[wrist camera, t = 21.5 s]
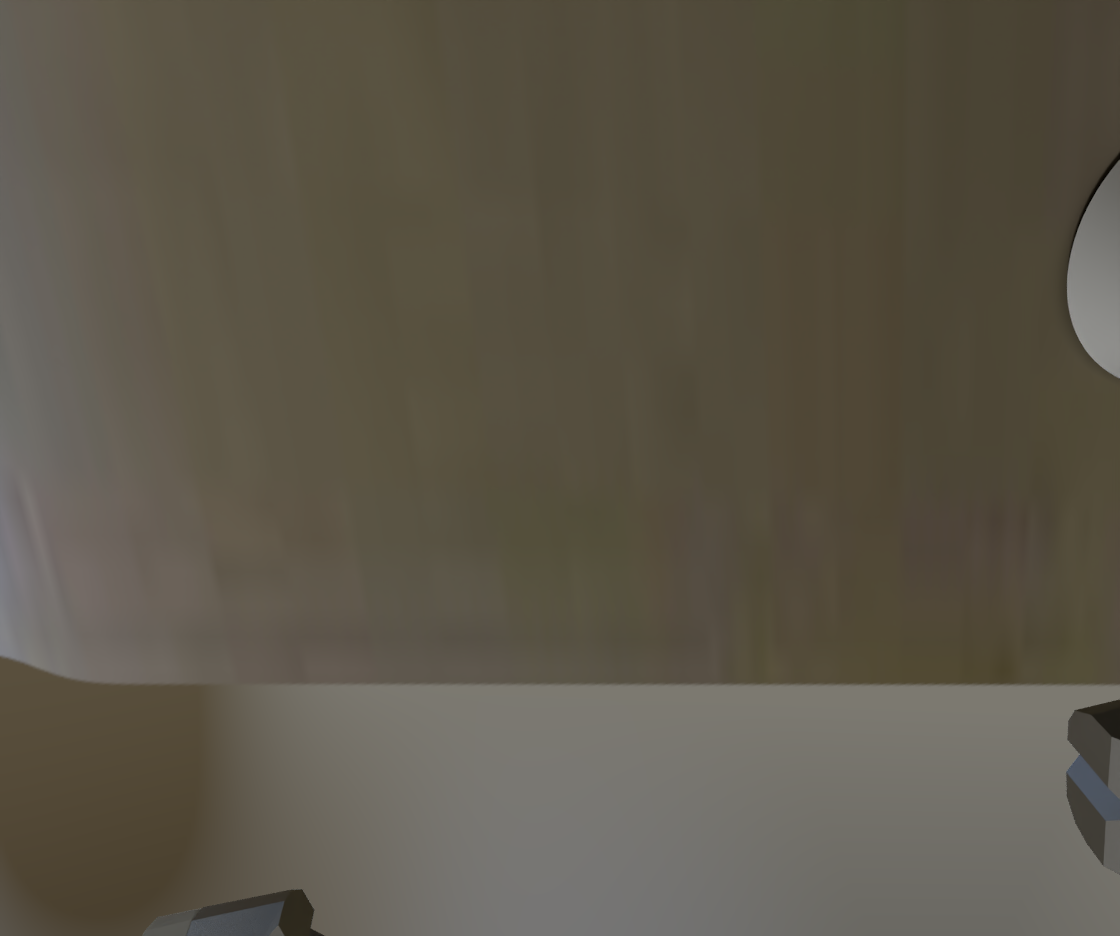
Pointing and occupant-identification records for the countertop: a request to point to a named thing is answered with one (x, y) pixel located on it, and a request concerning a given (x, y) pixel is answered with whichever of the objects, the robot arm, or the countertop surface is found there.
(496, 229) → the countertop surface
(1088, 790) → the robot arm
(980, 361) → the countertop surface
